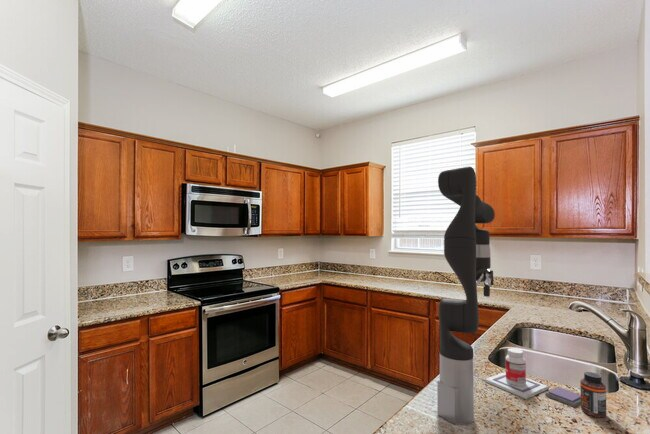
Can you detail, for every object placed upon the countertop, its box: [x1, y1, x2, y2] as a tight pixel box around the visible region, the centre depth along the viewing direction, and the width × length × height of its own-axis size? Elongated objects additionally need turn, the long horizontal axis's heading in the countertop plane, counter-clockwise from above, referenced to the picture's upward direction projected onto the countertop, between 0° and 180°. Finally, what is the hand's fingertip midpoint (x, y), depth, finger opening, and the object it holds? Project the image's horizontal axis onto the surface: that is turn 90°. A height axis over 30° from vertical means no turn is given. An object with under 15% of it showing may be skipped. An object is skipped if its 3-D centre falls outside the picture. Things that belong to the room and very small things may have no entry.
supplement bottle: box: [579, 371, 607, 419], centre depth 97 cm, size 6×6×11 cm
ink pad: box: [545, 386, 581, 408], centre depth 105 cm, size 8×8×2 cm
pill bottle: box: [505, 347, 527, 386], centre depth 114 cm, size 6×6×11 cm
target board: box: [484, 371, 549, 400], centre depth 114 cm, size 14×14×1 cm
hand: (480, 297), depth 128 cm, fingers open, 8 cm apart
